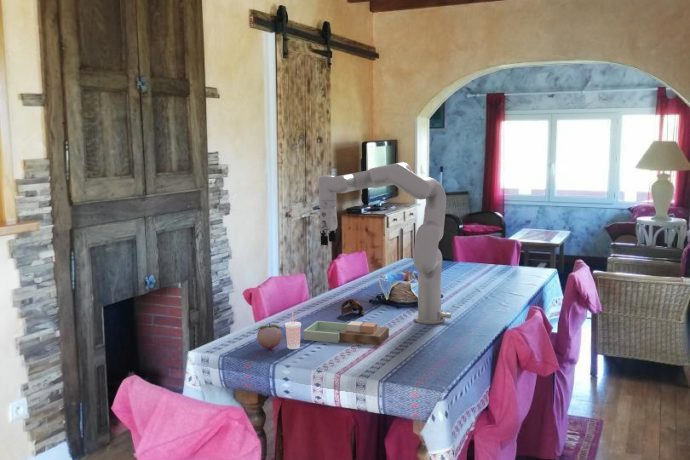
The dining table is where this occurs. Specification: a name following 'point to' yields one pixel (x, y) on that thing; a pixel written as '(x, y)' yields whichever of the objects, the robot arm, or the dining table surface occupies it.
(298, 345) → the beverage cup
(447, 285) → the dining table surface
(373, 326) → the tile terracotta
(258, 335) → the decorative fruit
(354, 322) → the tile cream
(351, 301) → the dark brown domed piece
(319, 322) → the tray
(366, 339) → the walnut board
